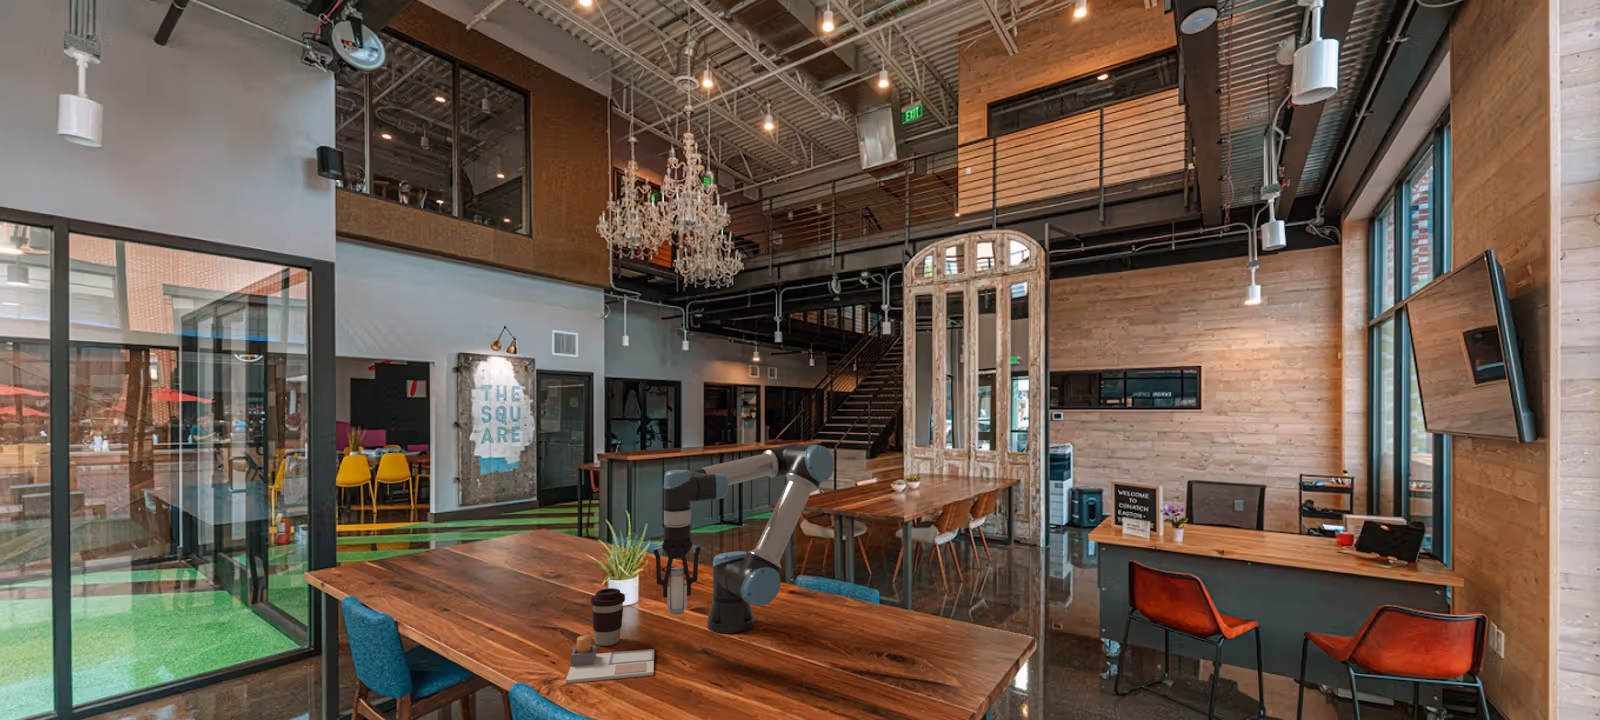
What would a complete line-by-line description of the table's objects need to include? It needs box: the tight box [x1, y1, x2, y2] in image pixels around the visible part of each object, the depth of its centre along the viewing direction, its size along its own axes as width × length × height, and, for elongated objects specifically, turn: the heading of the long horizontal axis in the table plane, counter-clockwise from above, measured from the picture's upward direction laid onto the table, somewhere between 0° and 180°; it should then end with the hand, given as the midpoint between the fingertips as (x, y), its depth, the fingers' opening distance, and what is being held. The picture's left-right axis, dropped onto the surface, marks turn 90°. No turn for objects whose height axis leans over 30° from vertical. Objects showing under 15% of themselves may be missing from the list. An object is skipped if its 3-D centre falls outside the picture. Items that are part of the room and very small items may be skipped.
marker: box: [669, 566, 685, 616], centre depth 177 cm, size 4×4×12 cm
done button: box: [576, 634, 592, 654], centre depth 172 cm, size 4×4×5 cm
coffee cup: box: [590, 587, 626, 647], centre depth 188 cm, size 10×10×15 cm
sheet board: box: [565, 644, 655, 684], centre depth 170 cm, size 22×16×4 cm
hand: (677, 607), depth 177 cm, fingers closed on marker, 4 cm apart
